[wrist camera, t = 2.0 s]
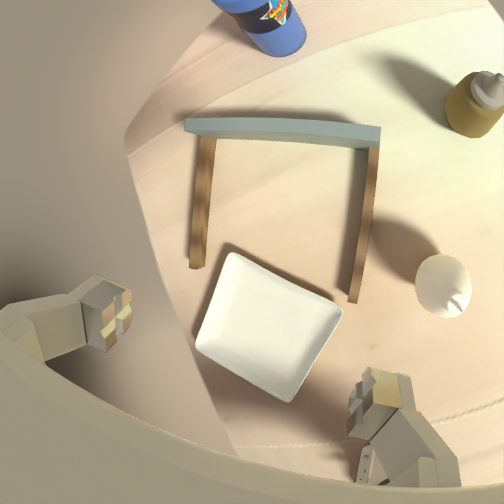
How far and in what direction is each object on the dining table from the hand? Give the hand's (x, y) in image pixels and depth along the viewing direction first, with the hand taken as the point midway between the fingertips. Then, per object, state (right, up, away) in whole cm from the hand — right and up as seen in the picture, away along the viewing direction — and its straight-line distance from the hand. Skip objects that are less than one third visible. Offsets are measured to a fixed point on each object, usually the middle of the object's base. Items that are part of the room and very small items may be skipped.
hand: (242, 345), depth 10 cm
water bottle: (+5, +41, +36) cm, 54 cm away
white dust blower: (+28, 0, +33) cm, 44 cm away
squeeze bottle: (+33, +24, +27) cm, 49 cm away
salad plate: (+3, -10, +45) cm, 47 cm away
